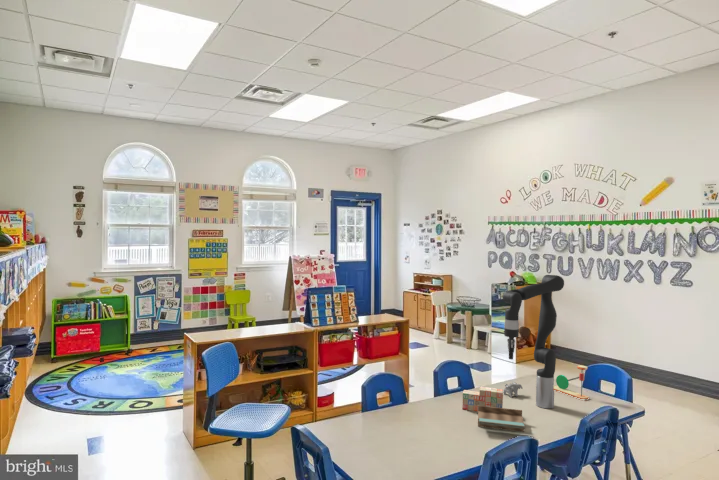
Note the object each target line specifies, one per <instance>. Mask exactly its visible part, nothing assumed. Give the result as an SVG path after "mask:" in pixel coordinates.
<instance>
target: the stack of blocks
mask: <svg viewBox="0 0 719 480" xmlns="http://www.w3.org/2000/svg"><path fill="white" fill-rule="evenodd" d="M503 391H504V389H501V388H496V387H495V388H494V387H486V386H480V387H479V391H475V390H467V389H463V392H462V410H466V411H472V412H478V406H488V407H497V408H503V406H504V405H503V403H504V401H503V400H504V393H503Z"/></svg>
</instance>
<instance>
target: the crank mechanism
mask: <svg viewBox="0 0 719 480" xmlns="http://www.w3.org/2000/svg"><path fill="white" fill-rule="evenodd" d="M576 368H577V369H578V370H580V371H581V372H579V376H577V377H572V378H570V379H568V378H567V376H565V375H563V374H559V375H557V376H556V378H555V379H556V380H555V383H556V385H555V384H554V390H556V391H555V392H557V391H560V392H562V393H565V394H568V395H571V396H573V397H572V398H574V397H577V398H580V399H588V398H589V399H590V396H588V395H585V394H583V382H584V381H585V373H584V371H588V369H589V368H588V366H585V365H580V364H578V365H577V367H576ZM577 379H578V380H579V381H580V382H581V383H580V392H577V391H574V390H571V389H568V387H569V386H570V385H569V384H570V383H569V382H570V381H574V380H577ZM560 392H559V393H560ZM562 393H561V394H562ZM565 394H564V395H565ZM568 395H567V396H568ZM571 396H570V397H571ZM577 398H576V399H577ZM580 399H579V400H580Z"/></svg>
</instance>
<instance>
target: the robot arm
mask: <svg viewBox="0 0 719 480" xmlns="http://www.w3.org/2000/svg"><path fill="white" fill-rule="evenodd" d="M564 286H565V280H564V278H563V277H562V276H560V275H555V274H545V275H544V276H543V277H542V279H541V282H540V283H534V284H529V285H526V286H523V287H520V288H516V289H511V290H507V291H505V292H504V293H503V295H502V301H503V302H504V303H506V304H507V305H508V304H509V305H510V307H509V308H506V309H505V313H504V315H505V316H504V317H505V319H504V328H503V329H504V334H503V335H504V337H507V340H506V341H507V349H508V350H507V351H508V359H509V360H514V352H515V347H516V340H515V339H516V338H518V337H519V335H520V334H519V329H520V326H519V325H520V321H519V315H520V310H521V306H522V304H523V303H522V302H523V301H527V300H530V299H532V298H535V297H537V296H540V307H539V308H540V309H539V316H538V329H537V334H536V335H537V336H536V340H535V345H534V351H533V358H534V360H535V362H537V363H540V364H543V365H544V367H543V368H539V369H537V370H536V381H535V382H536V384H535V385H536V386H535V387H536V388H535V393H536V394H535V406H537V407H539V408H543V409H554V408H555V391H554V385H555V384H554V381H555V380H554V379H555V372H556V364H557V354H556V351H555V350H554V349H553V348H549V347H546V342H547V339H548V338H549V336H550V335H551V334H552V332H553V331H554V329H555V328H556V325H557V317H558V316H557V315H558V314H557V311H556V307H555V306H554V303H553V299H552V295H553V292H560V291H561V290H562V289H564Z"/></svg>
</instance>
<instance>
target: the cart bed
mask: <svg viewBox="0 0 719 480" xmlns="http://www.w3.org/2000/svg"><path fill="white" fill-rule="evenodd" d="M479 418H484V419H492V420H501V421H510V422H519V423H523V424H524V425H525V421H524V418H523V410H522V409H517V408H515V409H513V408H505V407H502V408H497V407H488V406H478V411H477V427H480V428H488V429H497V430H504V431H512V432H520V433H521V432H523V433H524V432H525V429H520V428H512V427H503V426H494V425H486V424H479Z"/></svg>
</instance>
